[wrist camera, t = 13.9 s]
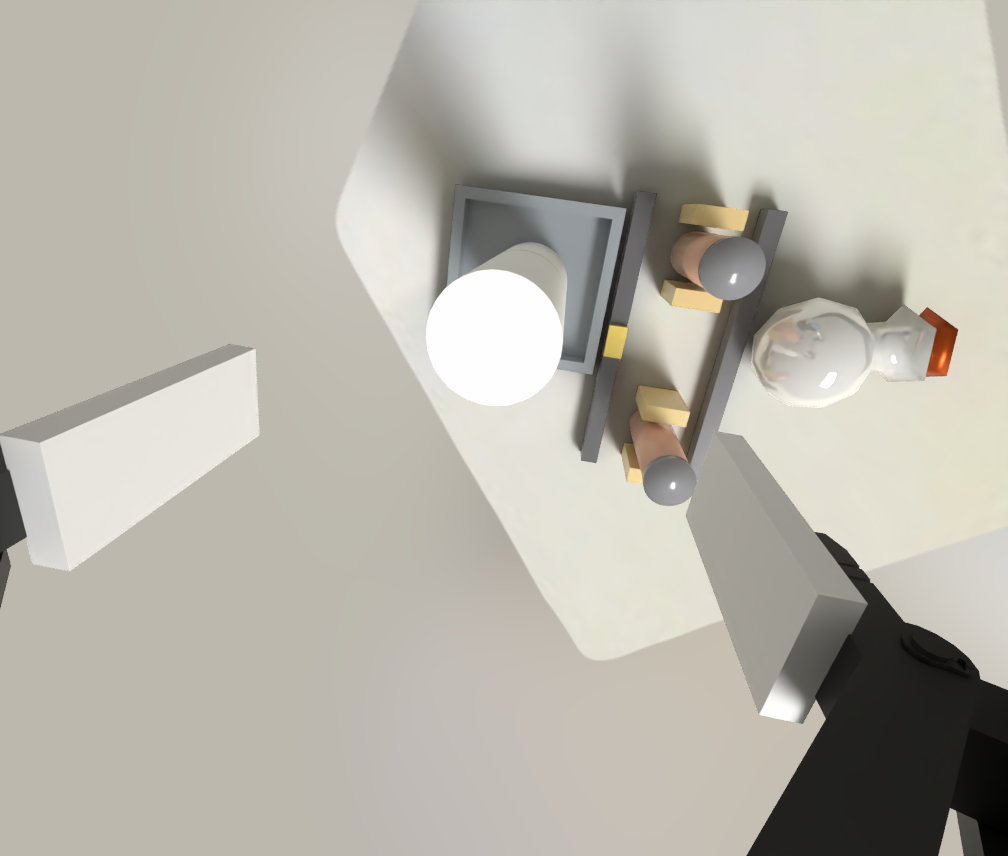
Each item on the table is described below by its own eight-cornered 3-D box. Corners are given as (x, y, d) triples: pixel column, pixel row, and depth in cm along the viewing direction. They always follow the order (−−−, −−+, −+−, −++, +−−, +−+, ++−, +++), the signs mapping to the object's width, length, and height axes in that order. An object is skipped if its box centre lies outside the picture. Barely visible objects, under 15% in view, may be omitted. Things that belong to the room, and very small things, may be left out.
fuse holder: (635, 191, 47) (643, 188, 41) (779, 211, 46) (807, 211, 40) (580, 452, 57) (581, 478, 51) (697, 472, 56) (711, 500, 51)
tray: (460, 185, 48) (455, 184, 46) (623, 208, 47) (626, 208, 45) (446, 344, 54) (441, 350, 52) (591, 367, 53) (592, 374, 51)
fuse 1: (633, 402, 54) (650, 456, 42) (674, 408, 54) (703, 465, 42) (624, 438, 56) (638, 501, 44) (664, 445, 55) (689, 509, 43)
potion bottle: (725, 329, 51) (880, 317, 51) (742, 425, 49) (905, 413, 49) (767, 281, 42) (956, 266, 42) (790, 395, 40) (991, 381, 40)
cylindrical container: (477, 281, 51) (398, 339, 28) (530, 224, 48) (491, 237, 25) (529, 334, 52) (494, 431, 29) (582, 281, 49) (592, 343, 26)
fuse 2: (675, 227, 47) (711, 232, 35) (722, 233, 47) (774, 241, 35) (664, 274, 49) (694, 295, 37) (709, 281, 49) (754, 304, 37)
